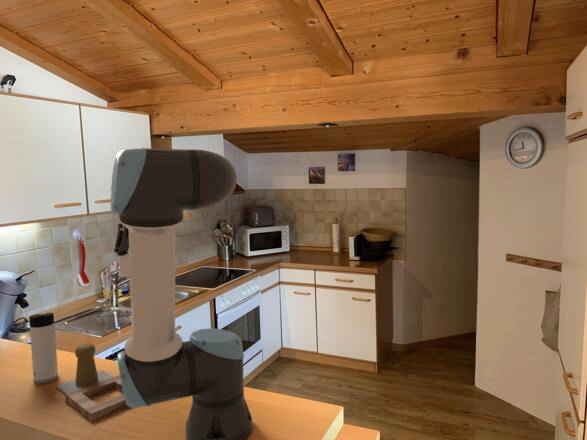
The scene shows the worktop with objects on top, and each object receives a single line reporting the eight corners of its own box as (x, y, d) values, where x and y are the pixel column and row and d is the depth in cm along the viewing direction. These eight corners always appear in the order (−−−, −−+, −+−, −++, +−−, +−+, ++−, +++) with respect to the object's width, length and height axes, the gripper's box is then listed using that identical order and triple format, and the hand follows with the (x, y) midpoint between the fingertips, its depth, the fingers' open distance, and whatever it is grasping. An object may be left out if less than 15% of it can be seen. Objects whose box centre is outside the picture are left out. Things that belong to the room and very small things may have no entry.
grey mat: (116, 380, 127) (116, 378, 127) (70, 397, 117) (69, 395, 117) (102, 371, 133) (102, 370, 133) (56, 387, 123) (56, 385, 123)
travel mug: (32, 386, 124) (27, 317, 122) (35, 376, 130) (30, 311, 128) (57, 381, 127) (52, 314, 125) (58, 372, 133) (54, 308, 131)
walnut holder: (147, 397, 117) (147, 390, 117) (91, 421, 106) (90, 413, 105) (120, 381, 127) (119, 374, 126) (65, 401, 115) (65, 394, 115)
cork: (102, 377, 128) (100, 340, 127) (93, 386, 122) (91, 348, 121) (81, 377, 128) (78, 341, 127) (71, 387, 122) (68, 349, 121)
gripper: (168, 208, 121) (171, 283, 123) (123, 205, 138) (126, 271, 140) (143, 210, 116) (147, 288, 118) (100, 207, 132) (103, 276, 134)
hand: (136, 279), depth 129 cm, fingers open, 13 cm apart
